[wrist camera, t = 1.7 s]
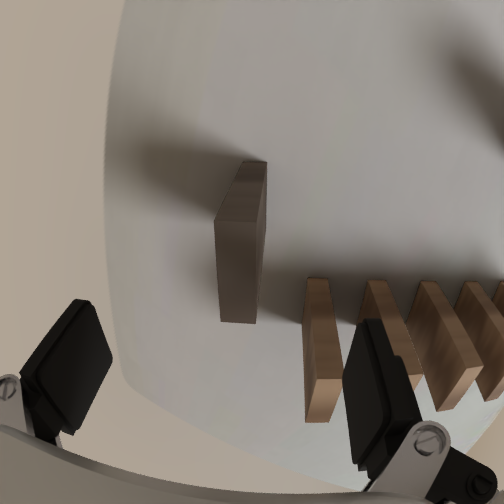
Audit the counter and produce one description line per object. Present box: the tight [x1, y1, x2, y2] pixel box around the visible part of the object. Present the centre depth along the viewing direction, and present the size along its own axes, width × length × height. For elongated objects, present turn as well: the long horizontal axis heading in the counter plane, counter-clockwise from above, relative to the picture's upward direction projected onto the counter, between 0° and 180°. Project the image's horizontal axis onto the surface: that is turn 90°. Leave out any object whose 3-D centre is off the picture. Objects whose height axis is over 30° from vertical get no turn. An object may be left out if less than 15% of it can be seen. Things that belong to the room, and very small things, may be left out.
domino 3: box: [356, 280, 423, 391], centre depth 21 cm, size 5×2×10 cm, turn 0°
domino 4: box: [405, 281, 484, 412], centre depth 20 cm, size 5×2×10 cm, turn 0°
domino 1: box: [214, 162, 267, 324], centre depth 17 cm, size 5×2×10 cm, turn 0°
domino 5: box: [453, 281, 504, 402], centre depth 20 cm, size 5×2×10 cm, turn 0°
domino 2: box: [302, 278, 344, 423], centre depth 21 cm, size 5×2×10 cm, turn 0°
